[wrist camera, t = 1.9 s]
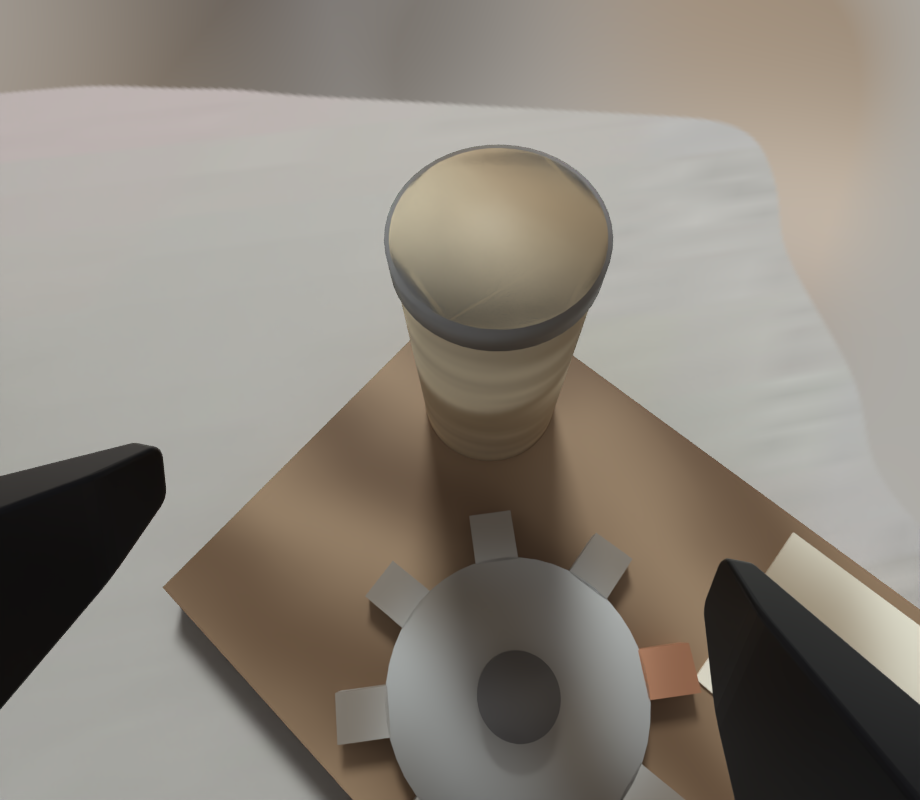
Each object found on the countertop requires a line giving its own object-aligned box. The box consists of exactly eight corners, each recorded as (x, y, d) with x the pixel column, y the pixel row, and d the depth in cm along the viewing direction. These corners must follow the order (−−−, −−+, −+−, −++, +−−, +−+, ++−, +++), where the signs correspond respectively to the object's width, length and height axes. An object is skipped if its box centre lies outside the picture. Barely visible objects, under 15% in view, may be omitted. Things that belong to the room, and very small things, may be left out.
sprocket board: (699, 1162, 16) (753, 1291, 13) (182, 591, 21) (132, 584, 18) (964, 666, 20) (1054, 673, 17) (470, 299, 26) (469, 254, 22)
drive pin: (497, 491, 21) (513, 380, 12) (395, 406, 22) (337, 244, 13) (582, 393, 22) (659, 221, 13) (482, 317, 23) (484, 112, 14)
